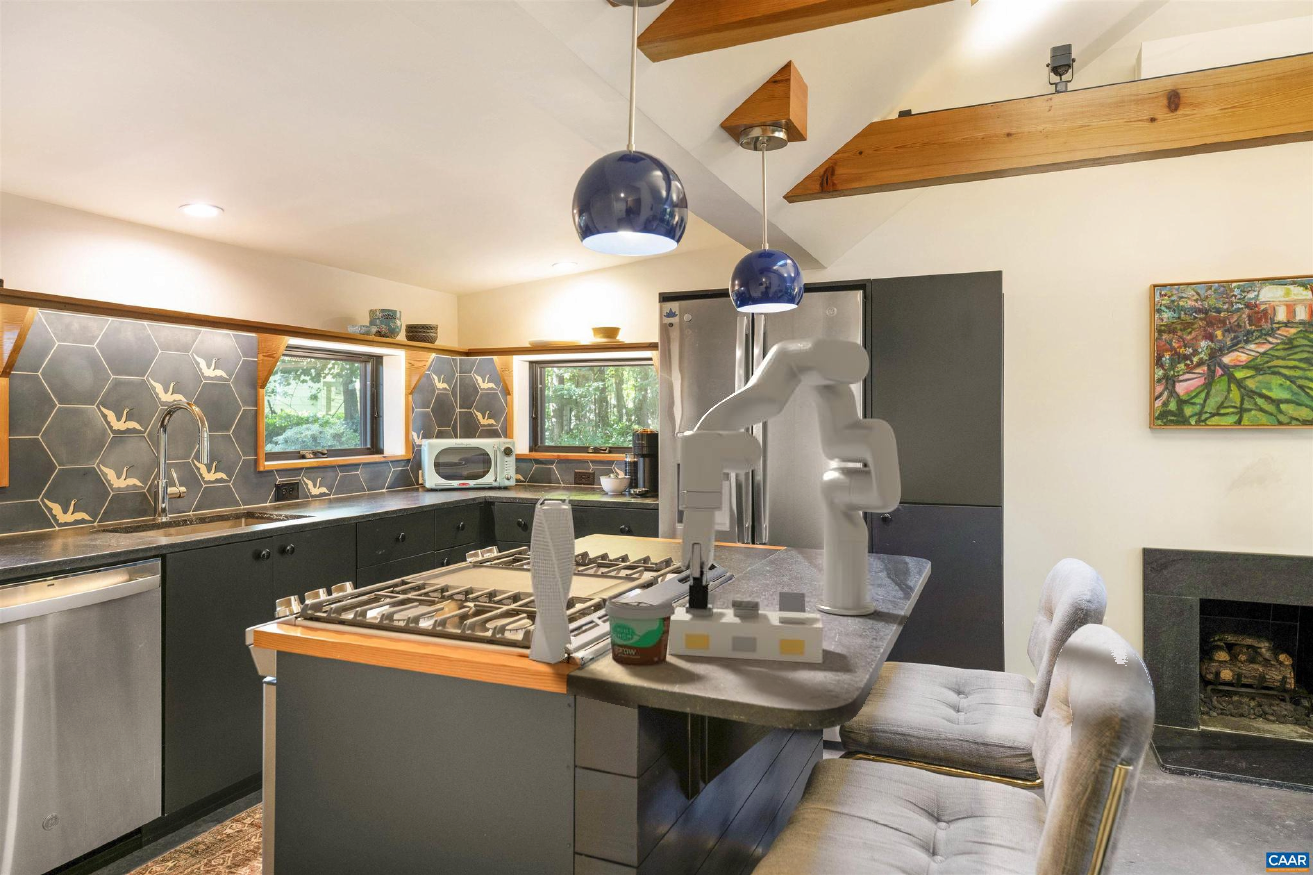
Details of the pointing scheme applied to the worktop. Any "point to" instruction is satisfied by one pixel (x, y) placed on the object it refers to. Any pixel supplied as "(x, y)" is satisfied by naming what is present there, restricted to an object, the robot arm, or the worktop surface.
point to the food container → (639, 632)
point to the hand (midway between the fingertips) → (698, 607)
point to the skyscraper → (551, 577)
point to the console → (745, 635)
